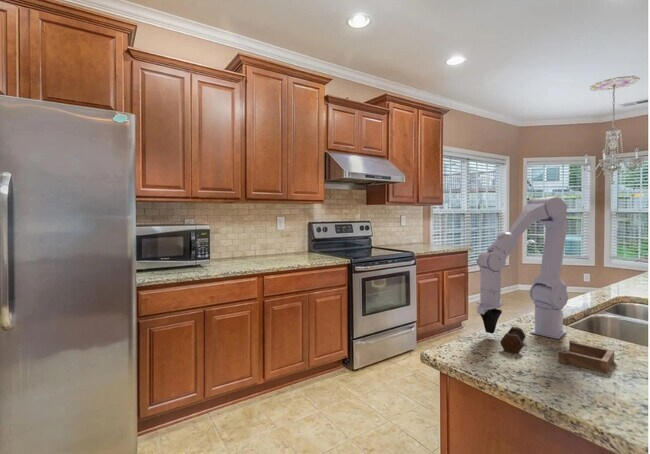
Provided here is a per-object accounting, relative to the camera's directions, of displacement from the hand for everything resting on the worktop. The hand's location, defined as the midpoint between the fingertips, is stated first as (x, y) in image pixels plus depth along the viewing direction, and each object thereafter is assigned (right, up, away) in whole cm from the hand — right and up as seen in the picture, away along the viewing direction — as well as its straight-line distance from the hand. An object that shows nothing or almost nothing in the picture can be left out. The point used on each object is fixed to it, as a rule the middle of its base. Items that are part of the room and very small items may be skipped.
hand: (489, 332), depth 109 cm
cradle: (+17, -2, -18) cm, 24 cm away
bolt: (+5, -2, -6) cm, 8 cm away
